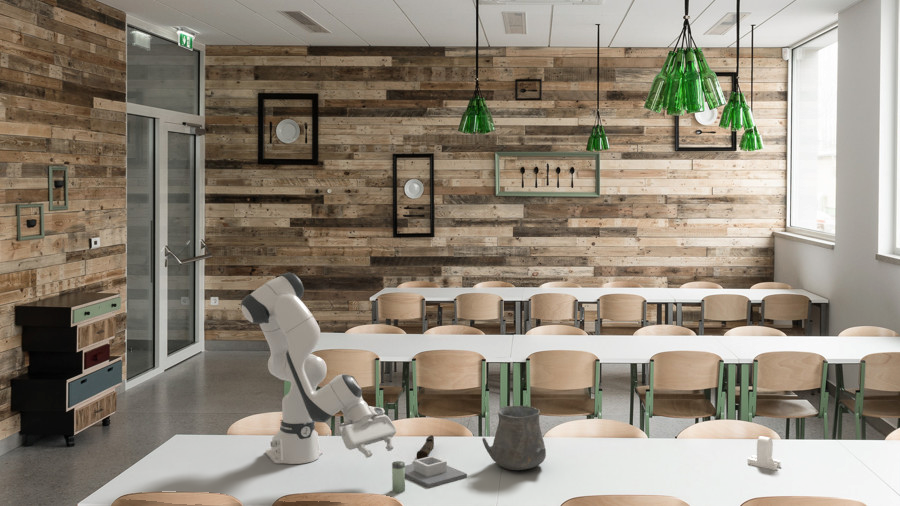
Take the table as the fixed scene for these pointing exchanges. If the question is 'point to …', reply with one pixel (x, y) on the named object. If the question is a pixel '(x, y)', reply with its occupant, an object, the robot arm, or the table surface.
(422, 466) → the docking plate
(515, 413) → the vessel
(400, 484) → the green cylinder
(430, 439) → the brown wooden log
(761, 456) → the cable organizer
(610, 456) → the table surface
